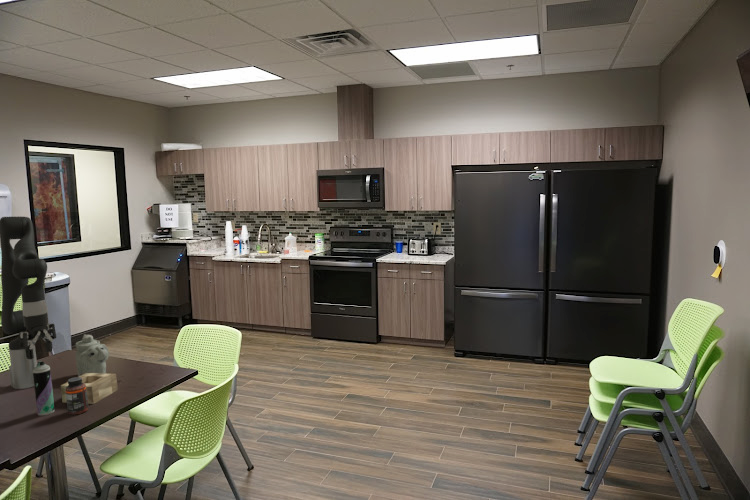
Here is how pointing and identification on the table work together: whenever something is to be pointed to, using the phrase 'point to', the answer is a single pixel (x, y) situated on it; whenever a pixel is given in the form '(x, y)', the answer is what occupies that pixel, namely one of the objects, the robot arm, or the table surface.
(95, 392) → the tube block
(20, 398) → the table surface
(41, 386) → the spray can
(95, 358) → the grey animal cookie jar
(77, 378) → the supplement bottle
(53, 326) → the robot arm
